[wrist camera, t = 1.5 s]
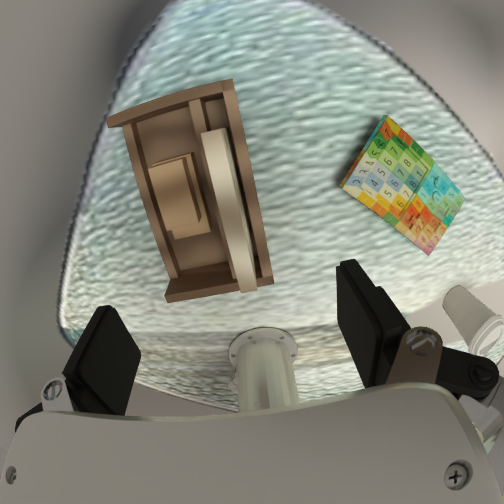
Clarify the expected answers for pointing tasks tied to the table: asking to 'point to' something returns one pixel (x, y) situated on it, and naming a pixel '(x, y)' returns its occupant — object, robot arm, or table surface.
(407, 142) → the puzzle game
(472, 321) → the coffee cup
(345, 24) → the table surface
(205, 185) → the walnut rack
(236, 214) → the birch sheet
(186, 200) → the tan wooden block
